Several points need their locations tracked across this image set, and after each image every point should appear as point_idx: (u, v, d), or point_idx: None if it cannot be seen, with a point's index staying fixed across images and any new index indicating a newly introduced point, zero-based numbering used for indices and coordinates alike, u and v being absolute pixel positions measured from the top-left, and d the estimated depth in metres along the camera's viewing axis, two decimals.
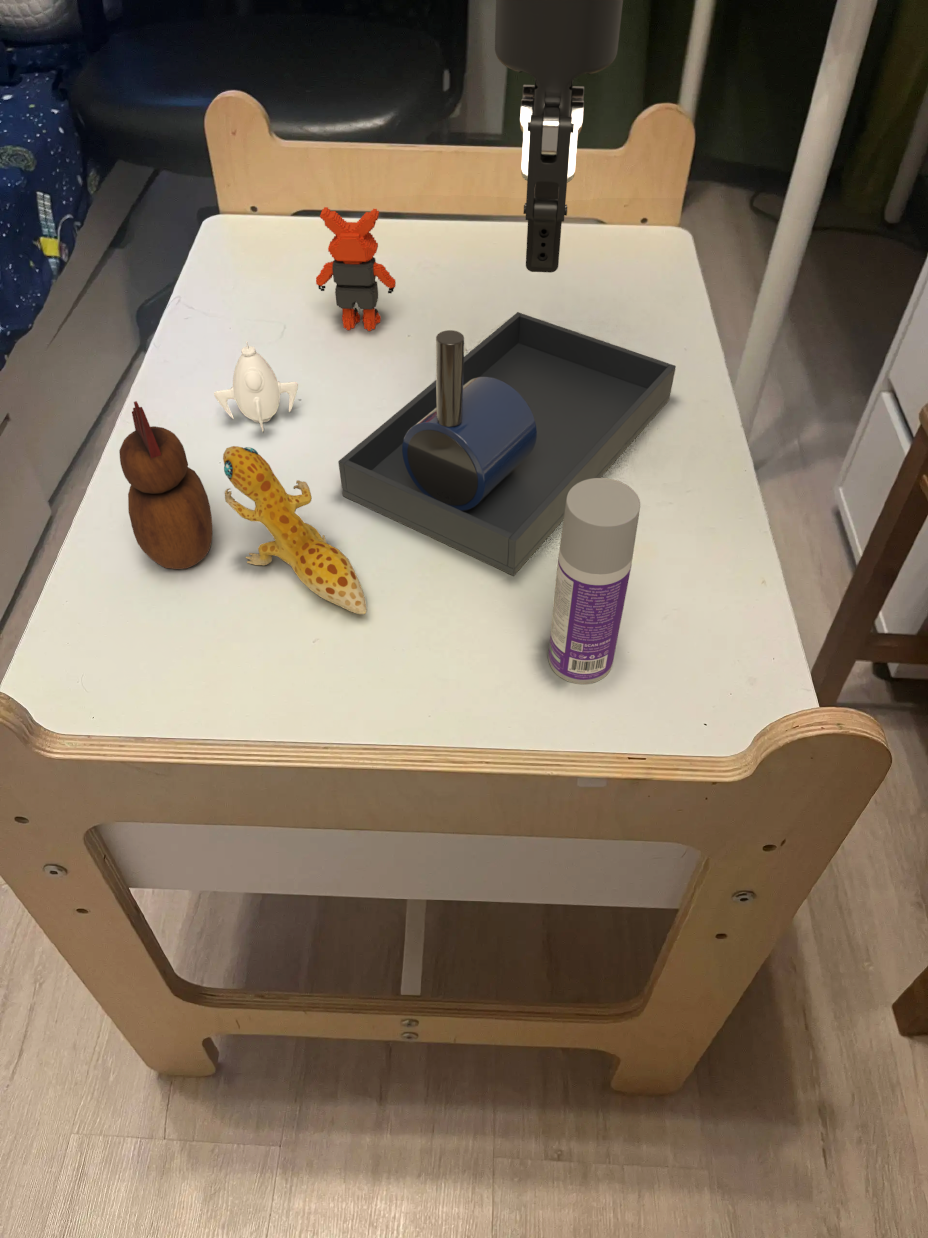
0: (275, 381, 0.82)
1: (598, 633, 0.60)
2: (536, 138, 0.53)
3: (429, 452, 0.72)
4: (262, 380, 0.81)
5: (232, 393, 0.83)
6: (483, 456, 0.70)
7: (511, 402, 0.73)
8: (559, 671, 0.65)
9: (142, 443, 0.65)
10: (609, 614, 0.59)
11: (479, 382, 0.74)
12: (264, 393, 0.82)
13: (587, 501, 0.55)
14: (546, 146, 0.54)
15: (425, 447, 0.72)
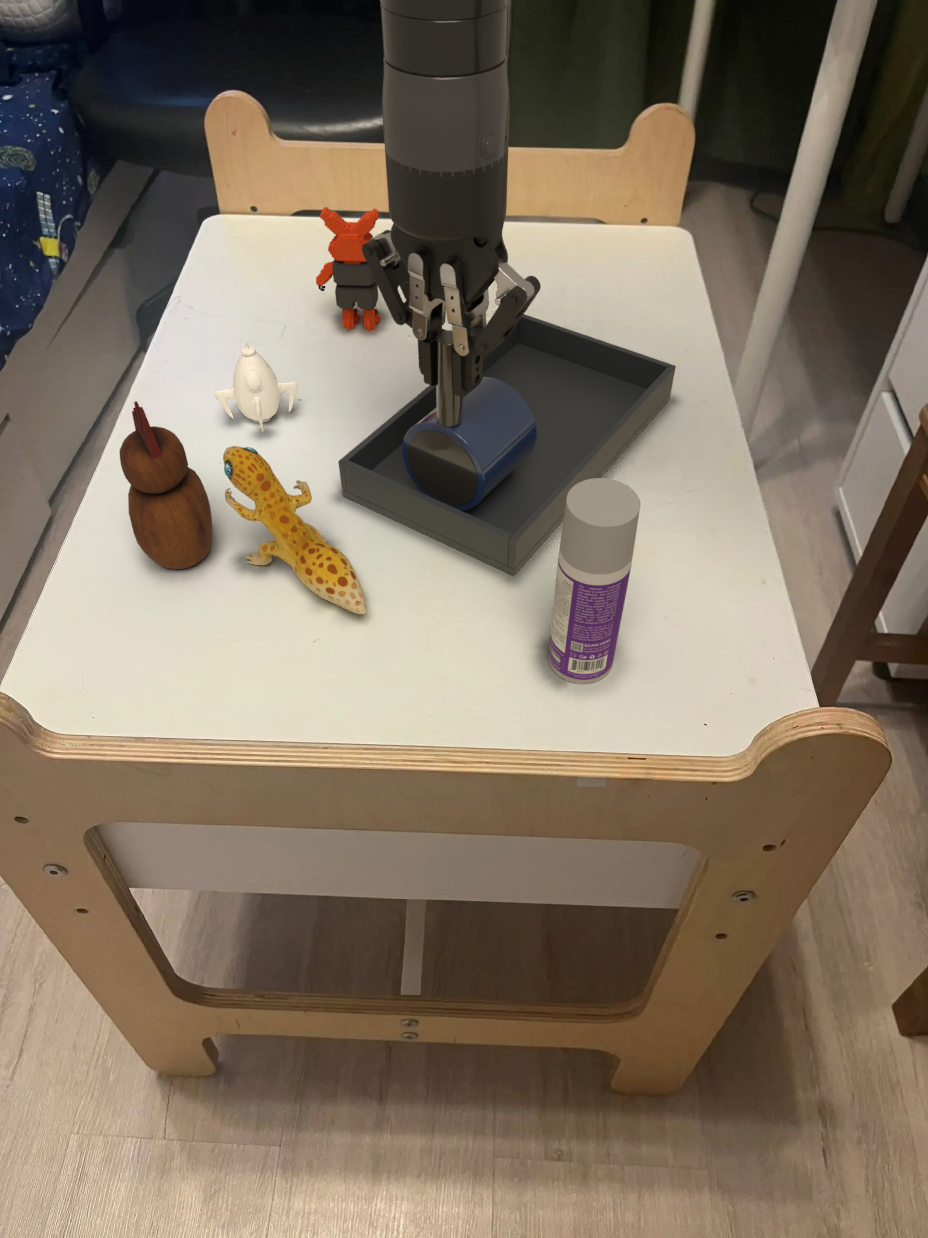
0: (275, 381, 0.82)
1: (598, 633, 0.60)
2: (520, 308, 0.59)
3: (429, 452, 0.72)
4: (262, 380, 0.81)
5: (232, 393, 0.83)
6: (483, 456, 0.70)
7: (511, 402, 0.73)
8: (559, 671, 0.65)
9: (142, 443, 0.65)
10: (608, 614, 0.59)
11: None
12: (264, 393, 0.82)
13: (586, 502, 0.55)
14: (522, 308, 0.60)
15: (425, 447, 0.72)
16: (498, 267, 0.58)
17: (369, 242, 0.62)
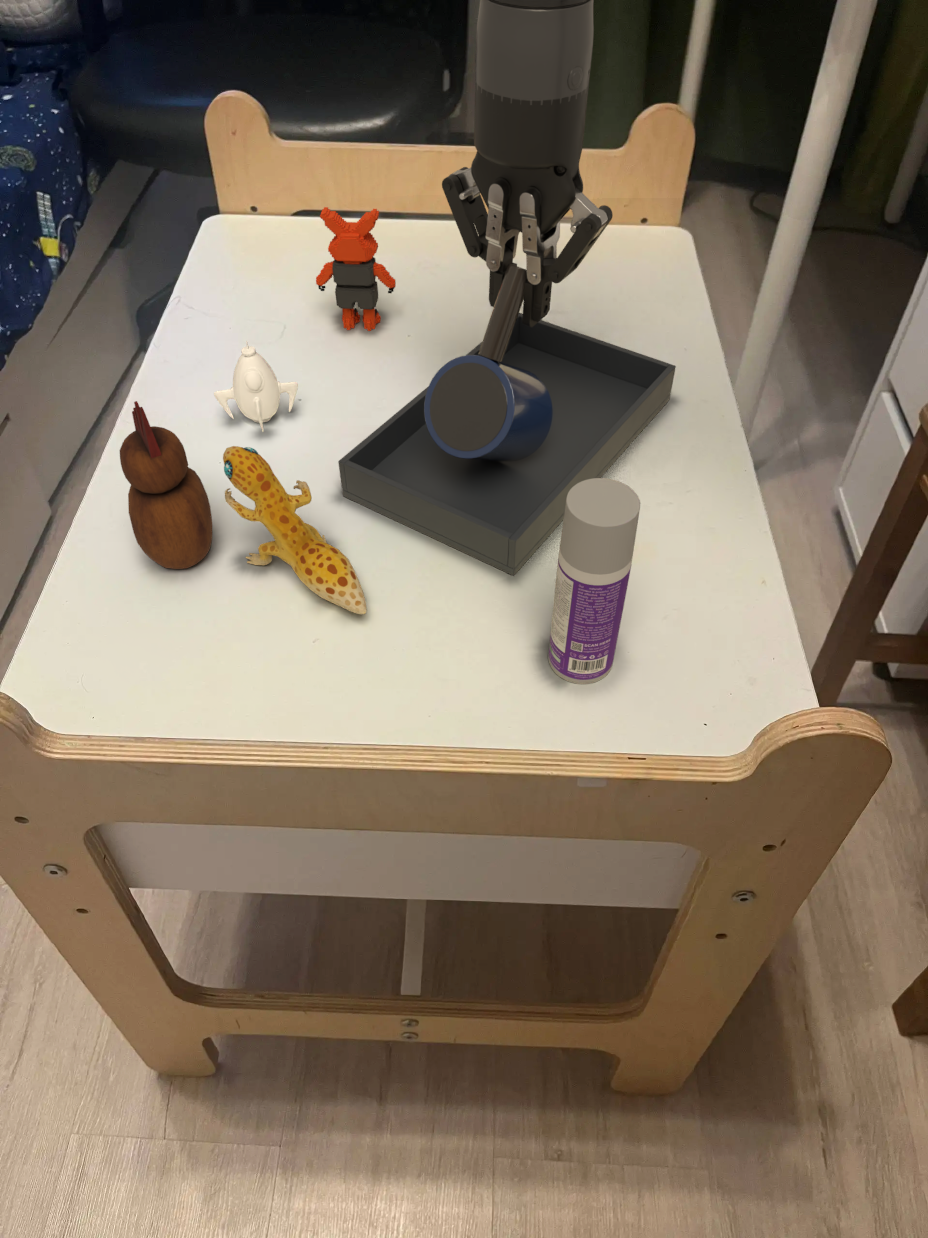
0: (275, 381, 0.82)
1: (598, 633, 0.60)
2: (594, 235, 0.64)
3: (459, 389, 0.72)
4: (262, 380, 0.81)
5: (232, 393, 0.83)
6: (517, 395, 0.71)
7: (538, 383, 0.76)
8: (559, 671, 0.65)
9: (142, 443, 0.65)
10: (608, 614, 0.59)
11: None
12: (264, 393, 0.82)
13: (586, 501, 0.55)
14: (595, 236, 0.64)
15: (456, 383, 0.72)
16: (575, 196, 0.63)
17: (449, 177, 0.67)
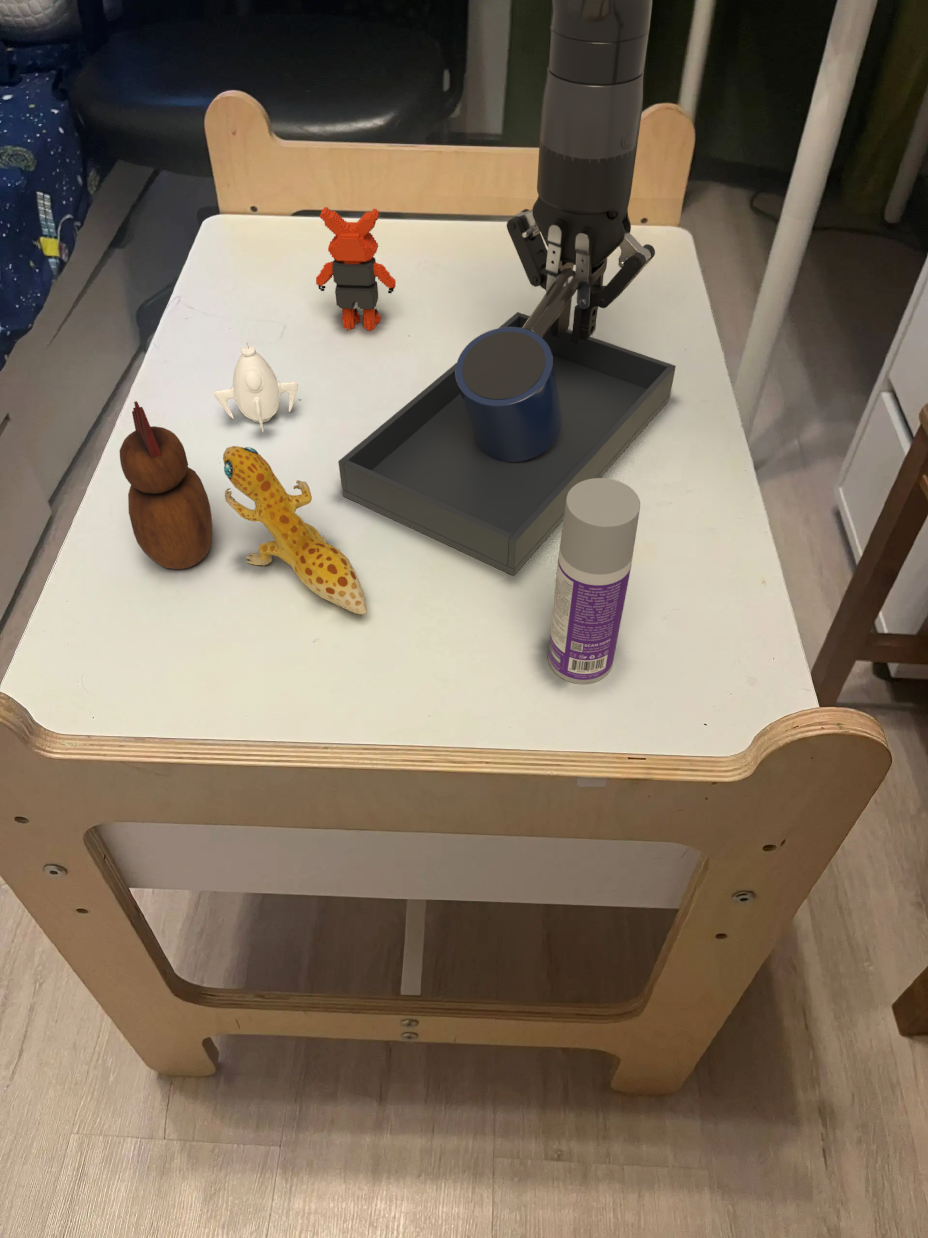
0: (275, 381, 0.82)
1: (598, 633, 0.60)
2: (639, 270, 0.74)
3: (497, 351, 0.75)
4: (262, 380, 0.81)
5: (232, 393, 0.83)
6: (553, 364, 0.74)
7: None
8: (559, 671, 0.65)
9: (142, 443, 0.65)
10: (608, 614, 0.59)
11: None
12: (264, 393, 0.82)
13: (586, 501, 0.55)
14: None
15: (495, 345, 0.75)
16: (624, 235, 0.73)
17: (513, 218, 0.77)
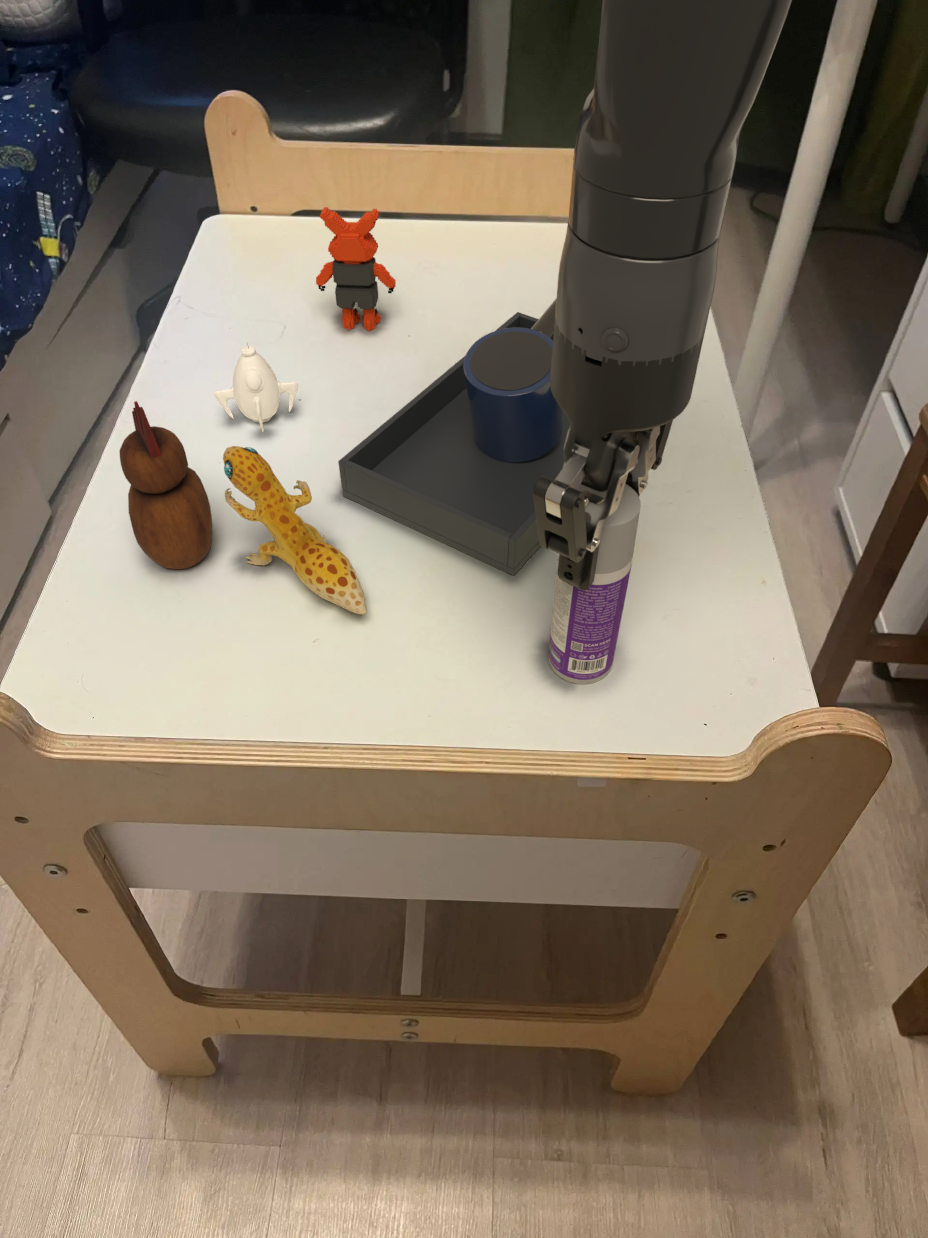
0: (275, 381, 0.82)
1: (598, 633, 0.60)
2: None
3: (505, 348, 0.76)
4: (262, 380, 0.81)
5: (232, 393, 0.83)
6: None
7: None
8: (559, 671, 0.64)
9: (142, 443, 0.65)
10: (609, 614, 0.59)
11: None
12: (264, 393, 0.82)
13: None
14: None
15: (504, 343, 0.76)
16: None
17: (576, 492, 0.47)
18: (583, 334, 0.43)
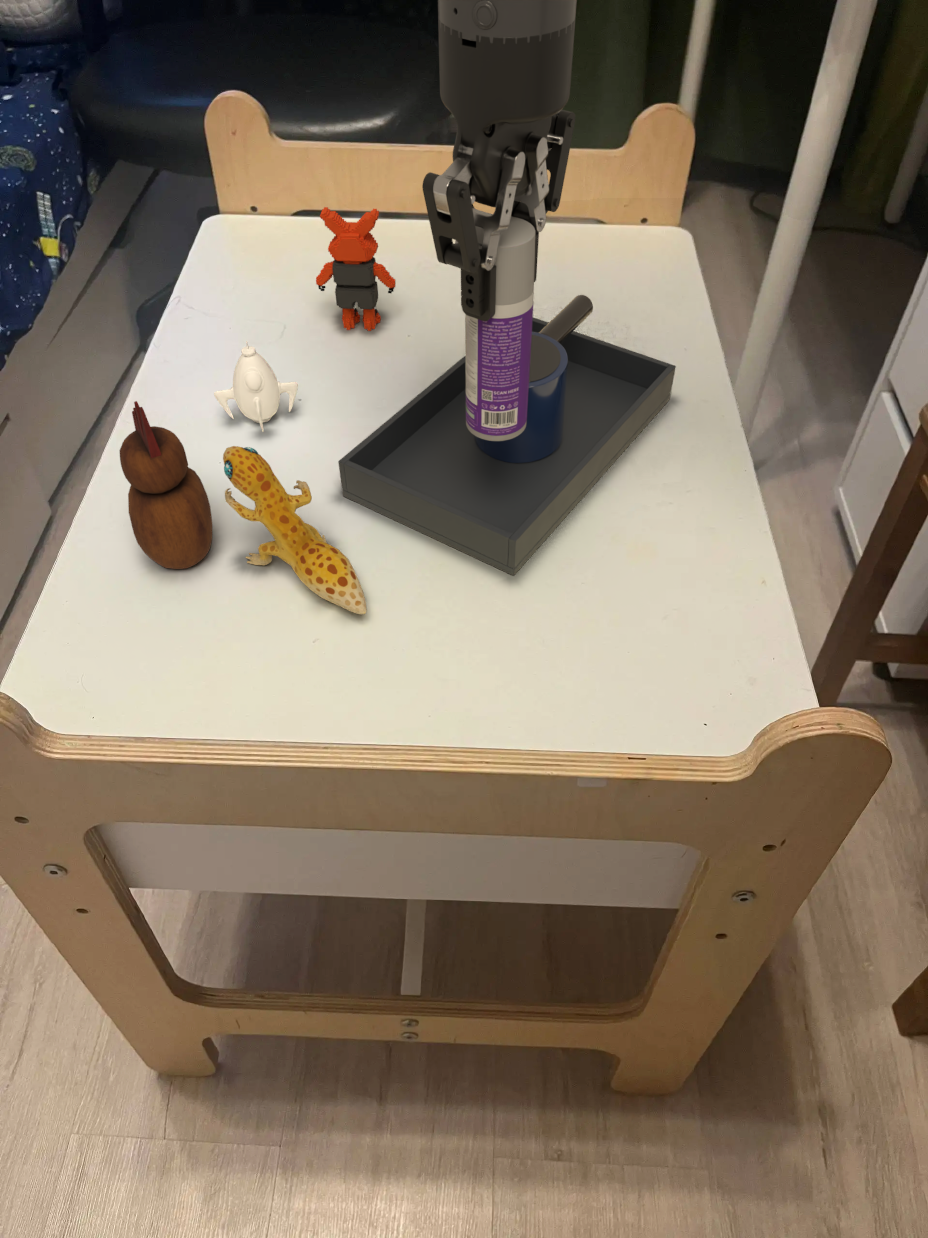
0: (275, 381, 0.82)
1: (505, 378, 0.64)
2: None
3: None
4: (262, 380, 0.81)
5: (232, 393, 0.83)
6: (567, 364, 0.76)
7: None
8: (474, 429, 0.69)
9: (142, 443, 0.65)
10: (513, 355, 0.63)
11: None
12: (264, 393, 0.82)
13: None
14: None
15: None
16: None
17: (460, 181, 0.51)
18: (458, 14, 0.48)
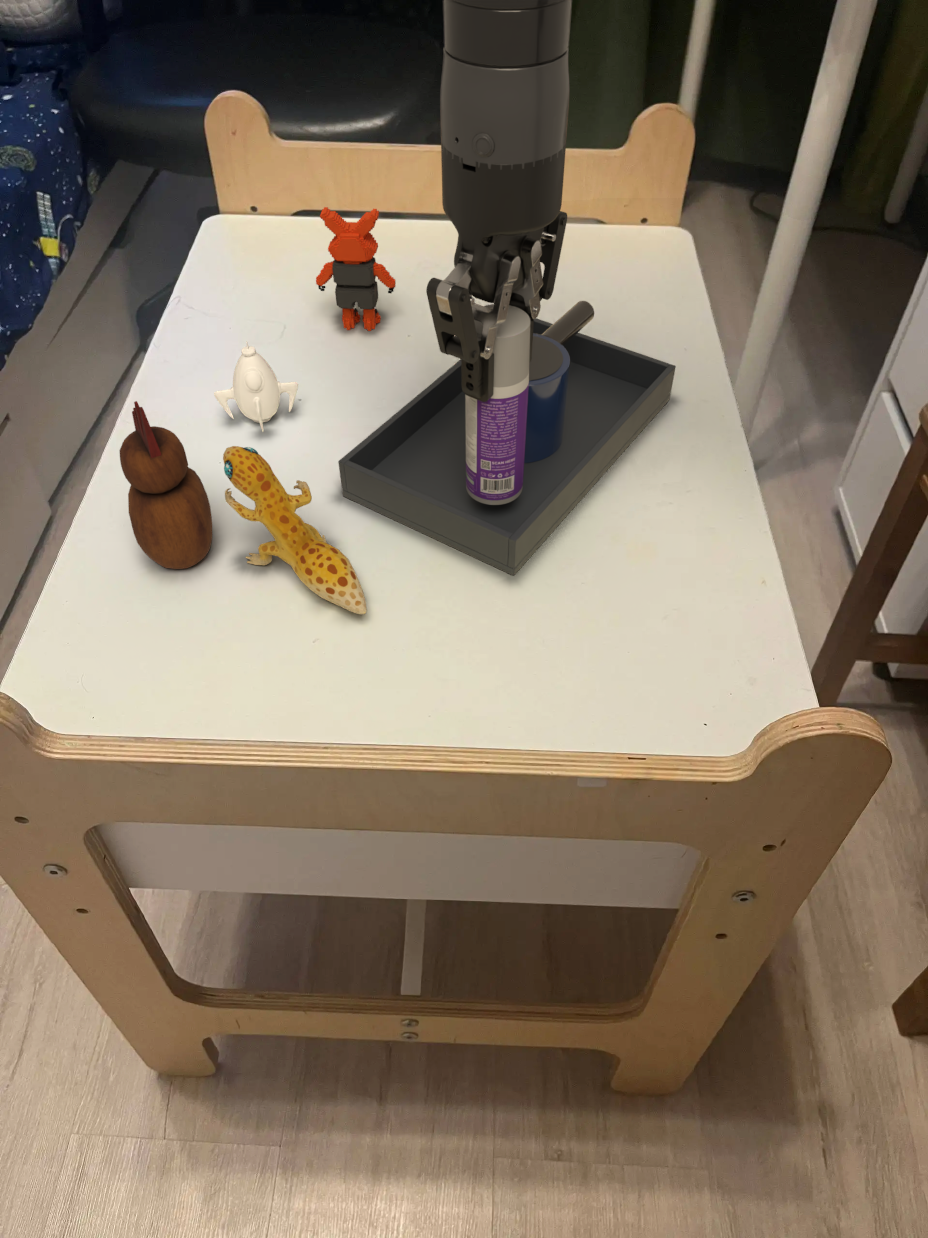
0: (275, 381, 0.82)
1: (503, 450, 0.69)
2: None
3: None
4: (262, 380, 0.81)
5: (232, 393, 0.83)
6: None
7: None
8: (474, 494, 0.73)
9: (142, 443, 0.65)
10: (510, 430, 0.68)
11: None
12: (265, 393, 0.82)
13: None
14: None
15: None
16: None
17: (461, 287, 0.56)
18: (459, 142, 0.52)
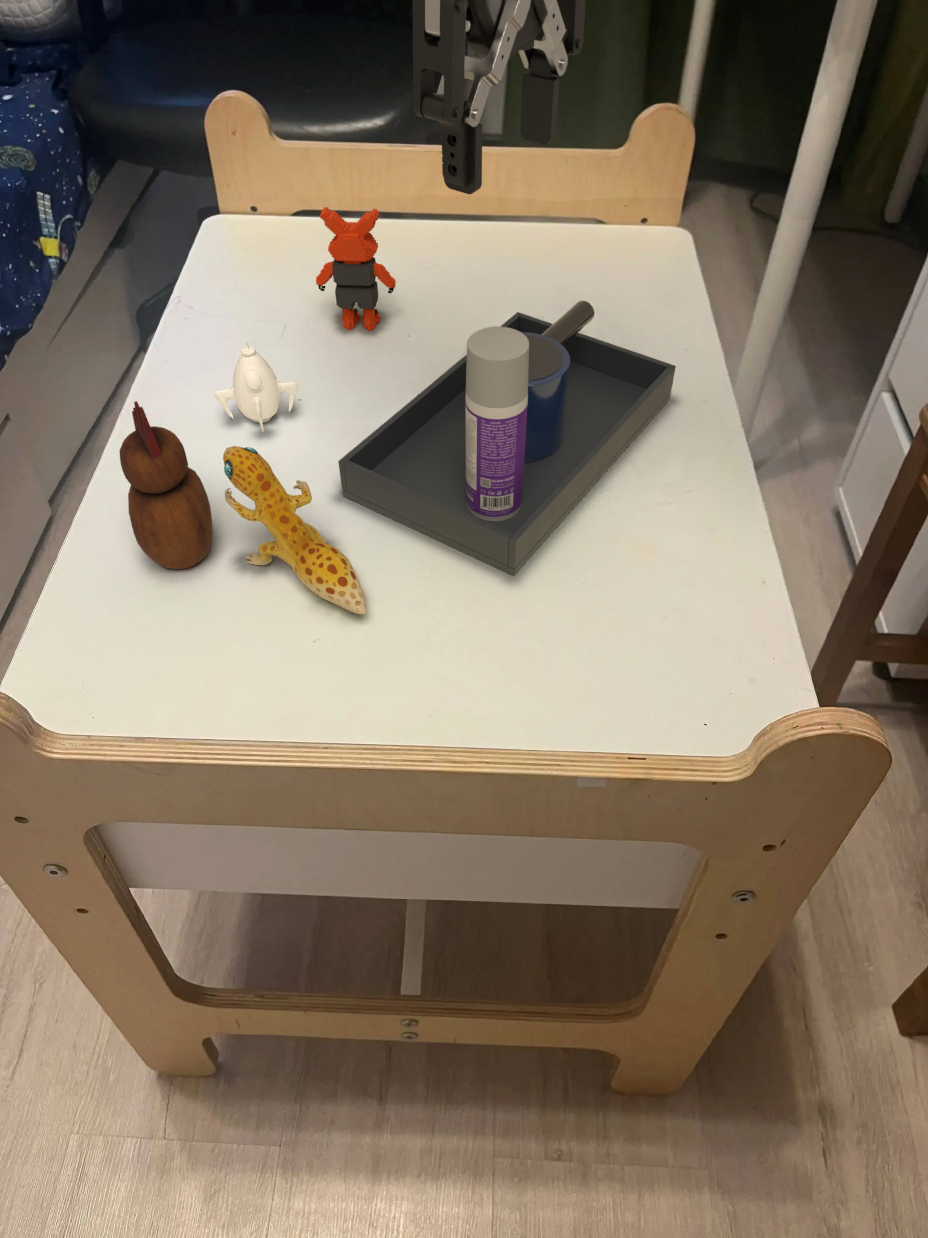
0: (275, 381, 0.82)
1: (502, 468, 0.71)
2: None
3: None
4: (262, 380, 0.81)
5: (232, 393, 0.83)
6: None
7: None
8: (474, 510, 0.75)
9: (142, 443, 0.65)
10: (509, 449, 0.69)
11: None
12: (264, 393, 0.82)
13: (484, 343, 0.65)
14: None
15: None
16: None
17: None
18: None
